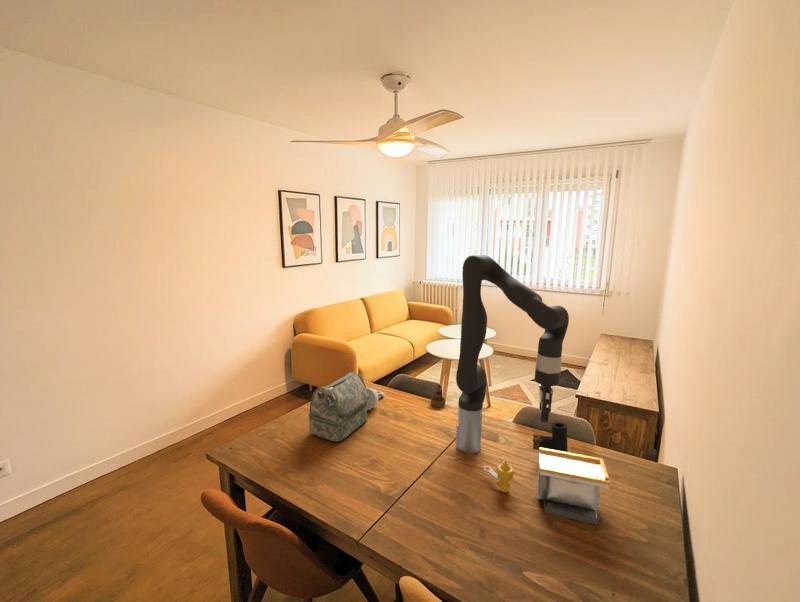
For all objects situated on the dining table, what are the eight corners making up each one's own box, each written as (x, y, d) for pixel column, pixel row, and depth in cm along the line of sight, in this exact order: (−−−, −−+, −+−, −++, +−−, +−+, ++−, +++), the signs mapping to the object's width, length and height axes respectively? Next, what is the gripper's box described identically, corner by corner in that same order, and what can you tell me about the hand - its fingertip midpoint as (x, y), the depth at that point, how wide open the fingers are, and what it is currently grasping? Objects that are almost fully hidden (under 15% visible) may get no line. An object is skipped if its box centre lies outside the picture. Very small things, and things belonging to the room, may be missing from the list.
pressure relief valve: (503, 498, 115) (504, 468, 114) (478, 476, 126) (479, 449, 124) (516, 492, 118) (517, 464, 116) (490, 472, 128) (492, 445, 127)
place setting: (415, 407, 180) (415, 396, 179) (437, 394, 196) (437, 384, 195) (446, 417, 170) (447, 405, 169) (466, 403, 185) (467, 392, 185)
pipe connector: (533, 464, 134) (532, 425, 133) (534, 456, 139) (533, 419, 137) (567, 469, 129) (566, 429, 128) (567, 461, 134) (566, 422, 133)
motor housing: (537, 511, 110) (540, 466, 108) (536, 486, 121) (539, 445, 119) (604, 526, 104) (609, 480, 102) (597, 499, 115) (602, 457, 113)
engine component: (354, 409, 173) (355, 387, 174) (365, 401, 193) (366, 382, 194) (376, 411, 171) (377, 389, 172) (385, 403, 191) (386, 383, 192)
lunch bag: (338, 447, 143) (337, 394, 140) (302, 435, 152) (301, 385, 148) (373, 419, 166) (373, 373, 163) (341, 410, 174) (340, 366, 171)
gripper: (534, 359, 124) (530, 404, 127) (536, 374, 111) (531, 423, 114) (558, 362, 122) (554, 408, 125) (563, 377, 109) (558, 428, 111)
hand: (543, 415), depth 119 cm, fingers open, 8 cm apart
